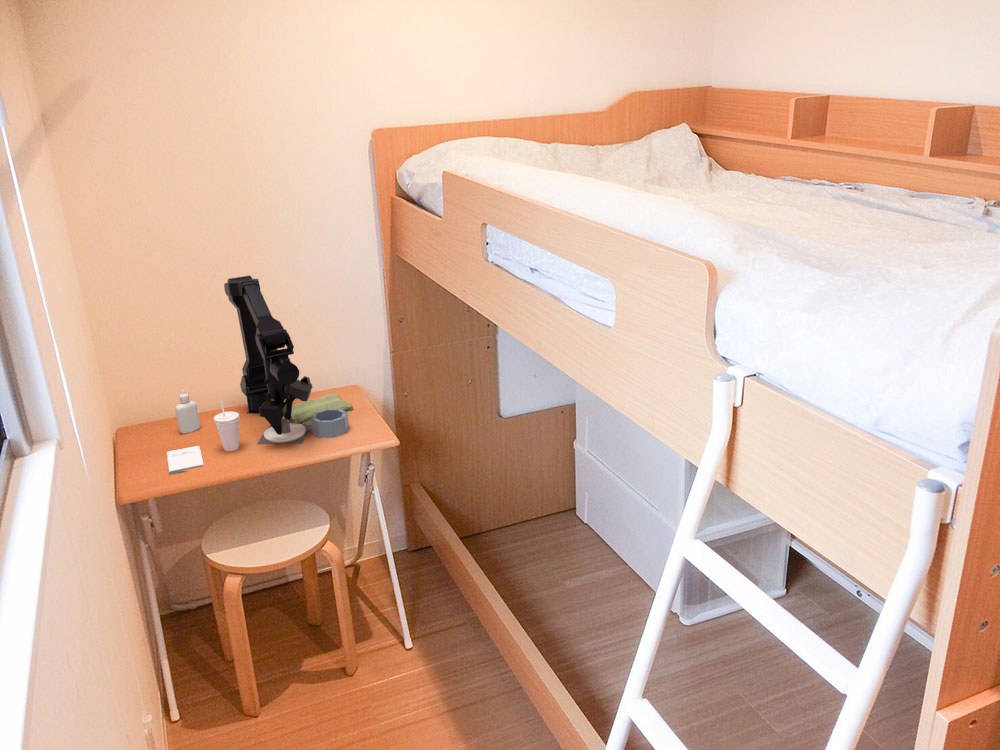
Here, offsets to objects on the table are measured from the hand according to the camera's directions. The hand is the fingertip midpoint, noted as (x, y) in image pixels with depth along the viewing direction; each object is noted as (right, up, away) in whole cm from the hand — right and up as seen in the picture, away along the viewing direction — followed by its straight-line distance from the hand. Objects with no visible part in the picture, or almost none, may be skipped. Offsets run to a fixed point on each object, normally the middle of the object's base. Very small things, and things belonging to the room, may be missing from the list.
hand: (284, 427), depth 216 cm
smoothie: (-12, -6, -6) cm, 15 cm away
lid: (0, -2, +1) cm, 2 cm away
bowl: (+12, -1, +2) cm, 12 cm away
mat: (0, -2, +1) cm, 2 cm away
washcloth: (+6, +3, +15) cm, 16 cm away
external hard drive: (-22, -9, -11) cm, 26 cm away
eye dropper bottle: (-28, -1, +6) cm, 29 cm away
